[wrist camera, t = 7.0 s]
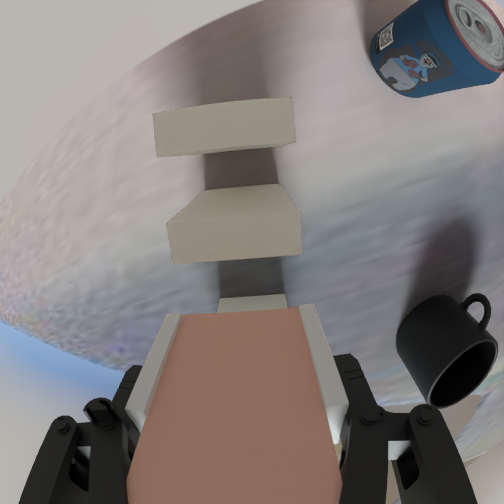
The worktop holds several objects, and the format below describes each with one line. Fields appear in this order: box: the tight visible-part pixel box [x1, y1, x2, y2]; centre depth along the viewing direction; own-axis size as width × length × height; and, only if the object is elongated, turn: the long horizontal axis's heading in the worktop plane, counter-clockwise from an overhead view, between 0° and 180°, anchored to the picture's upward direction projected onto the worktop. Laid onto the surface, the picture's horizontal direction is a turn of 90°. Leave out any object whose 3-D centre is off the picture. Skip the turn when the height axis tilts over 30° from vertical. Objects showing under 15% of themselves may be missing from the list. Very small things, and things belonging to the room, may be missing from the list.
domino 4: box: [126, 307, 343, 504], centre depth 9 cm, size 2×6×11 cm, turn 95°
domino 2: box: [166, 184, 302, 264], centre depth 18 cm, size 2×6×11 cm, turn 95°
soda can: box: [370, 0, 504, 98], centre depth 13 cm, size 7×7×12 cm
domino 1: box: [153, 97, 296, 157], centre depth 16 cm, size 2×6×11 cm, turn 95°
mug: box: [396, 293, 498, 409], centre depth 23 cm, size 9×12×9 cm
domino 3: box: [217, 294, 288, 313], centre depth 21 cm, size 2×6×11 cm, turn 95°
